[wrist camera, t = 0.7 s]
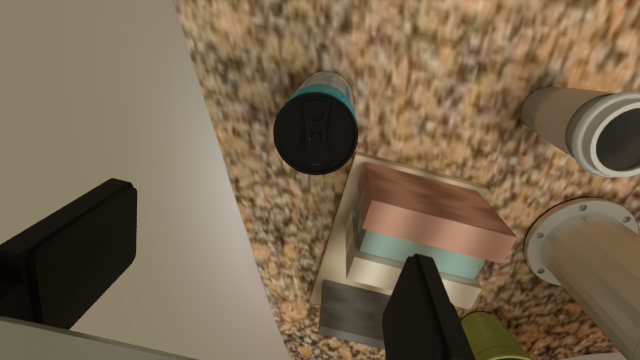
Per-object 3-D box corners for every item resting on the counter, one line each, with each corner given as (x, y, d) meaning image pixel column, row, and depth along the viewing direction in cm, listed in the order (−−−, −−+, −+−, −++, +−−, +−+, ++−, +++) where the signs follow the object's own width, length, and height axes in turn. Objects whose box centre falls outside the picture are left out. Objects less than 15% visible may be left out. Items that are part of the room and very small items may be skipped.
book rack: (484, 185, 40) (533, 236, 30) (415, 322, 49) (433, 396, 39) (355, 151, 39) (360, 191, 29) (310, 296, 48) (301, 365, 38)
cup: (589, 112, 36) (700, 146, 25) (532, 151, 38) (610, 199, 27) (556, 60, 34) (659, 72, 23) (497, 105, 36) (566, 136, 25)
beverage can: (294, 118, 38) (267, 165, 24) (304, 64, 35) (280, 83, 22) (345, 129, 38) (346, 183, 24) (358, 77, 36) (368, 103, 22)
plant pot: (522, 336, 49) (557, 394, 41) (460, 357, 51) (482, 416, 43) (498, 292, 46) (531, 346, 38) (435, 316, 48) (453, 372, 40)
